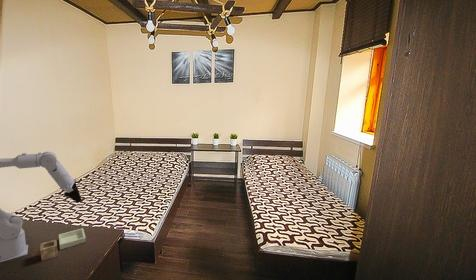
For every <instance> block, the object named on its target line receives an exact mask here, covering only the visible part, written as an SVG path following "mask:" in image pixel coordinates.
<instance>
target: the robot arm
mask: <svg viewBox="0 0 476 280" xmlns="http://www.w3.org/2000/svg"><path fill="white" fill-rule="evenodd" d="M9 167H15V168H18V169H20V170H21V169H32V168H39V167H42V168H45V170H46V171H47V173H48V175H50V177H51V178H52V179H53V180H54V181H55V183H56V184H57V186H59V189H60V190H63V191H66V192H64V193H63V196H65V197H67V198H69V199H71V200H73V202H75V203H77V204H79V203H80V202H82V197H81V193H80V191H79V187H78V186H77V181H78V179H77V178H74V179H73V178H72V176H71V174H70V173H69V172H68V170H67V169H66V168H65V167H64V165H63V164H62V163H61V162H60V161H59V160H58V157H57V155H56V154H55V152H52V151H44V152H40V151H39V152H38V153H28V154H27V152H22V153H21V154H18V155H16V157H14V158H13V157H11V158H0V168H9ZM24 221H25V220H24V218H23V217H21V216H19V215H15V214H13V213H12V212H7V211H5V210H3V209H2V208H0V263H2V262H6V261H9V260H13V259H17V258H21V257H24V256H27V255H28V252H29V244H27V242H26V233H25V229H23V227H22V226H23V225H24Z"/></svg>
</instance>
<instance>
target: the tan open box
mask: <svg viewBox="0 0 476 280" xmlns="http://www.w3.org/2000/svg"><path fill="white" fill-rule="evenodd" d="M52 245H53V246H52ZM48 246H50V247H48ZM45 247H47V248H45ZM58 251H59V250H58V241H57V239H52V240H50V241H49V240H48V241H46V242H42V243H40V250H37V251H36V252H35V255H36V256H37V257H38V256H40V258H41V262H43V261H46V260H49V259H53V258H57V257H58V256H59V254H58Z"/></svg>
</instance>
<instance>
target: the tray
mask: <svg viewBox="0 0 476 280" xmlns="http://www.w3.org/2000/svg"><path fill="white" fill-rule="evenodd" d="M58 241H59V242H58V243H59V250H60V251H62V250H66V249H68V248H69V249H70V248H72V247H75V246H78V245H79V246H80V245H83V244H86V243H87V238H86V234H85V230H84V227H81V228H78V229H75V230H70V231H67V232H63V233H59V234H58Z"/></svg>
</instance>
